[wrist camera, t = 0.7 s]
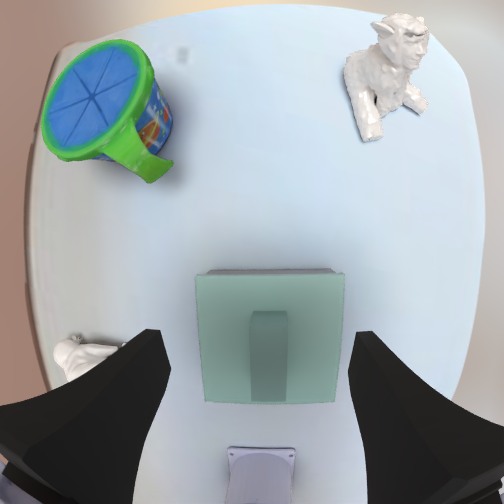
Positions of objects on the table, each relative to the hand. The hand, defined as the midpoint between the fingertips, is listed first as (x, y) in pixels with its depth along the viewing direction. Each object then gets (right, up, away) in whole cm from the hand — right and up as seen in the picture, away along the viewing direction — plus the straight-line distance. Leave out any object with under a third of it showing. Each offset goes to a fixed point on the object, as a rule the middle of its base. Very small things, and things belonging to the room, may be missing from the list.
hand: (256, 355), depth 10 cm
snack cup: (-12, +16, +16) cm, 26 cm away
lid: (+1, -4, +13) cm, 14 cm away
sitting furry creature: (+12, +20, +14) cm, 27 cm away
